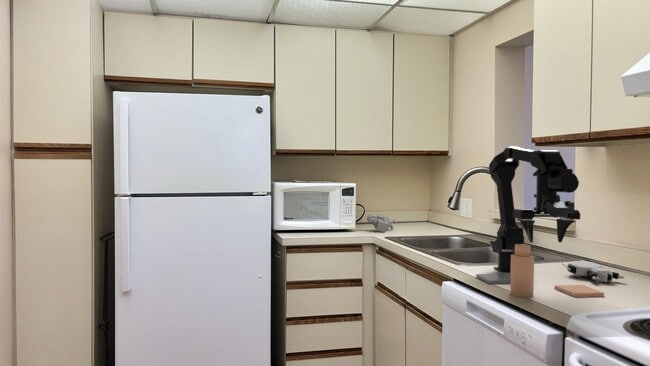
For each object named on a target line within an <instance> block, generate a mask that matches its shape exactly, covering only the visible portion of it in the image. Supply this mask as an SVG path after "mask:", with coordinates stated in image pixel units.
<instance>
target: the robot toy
mask: <svg viewBox="0 0 650 366" xmlns="http://www.w3.org/2000/svg"><path fill="white" fill-rule="evenodd" d="M561 265H562V266H564V267H565V269H566V270H567V272H568V273H570V274H572V275H573V276H574V277H576V278H581V277H589V278H590V279H591V280H592V281H595V282H597V283H607V282H613V279H615V280H618V279H620V280H621V279H625V275H621V274H620V273H618V272H614V271H610V269H607V268H604V267H603V265H601V264H597V263H596V262H591V261H572V262H569V263H567V265H565V264H564V263H563V262H562V263H561Z"/></svg>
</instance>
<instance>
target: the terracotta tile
mask: <svg viewBox="0 0 650 366" xmlns="http://www.w3.org/2000/svg"><path fill="white" fill-rule="evenodd" d="M554 289H555V290H557V291H559V292H561V291H562V292H561V293H563V294H567V295H568V294H569V295H568V296H571V297H574V298H584V297H585V298H586V297H587V298H589V297H605V292H604V291H600V290H599V289H595V288H592V287H591V286H590V287H589V286H587V285H585V284H561V285H560V284H557V285H556V284H555V285H554Z"/></svg>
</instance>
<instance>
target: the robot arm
mask: <svg viewBox="0 0 650 366" xmlns="http://www.w3.org/2000/svg"><path fill="white" fill-rule="evenodd" d="M520 161H522V162H526V163H529V164H530V166H531V167H533V168H535V169H536V170H535V171H534V172H533V174H532V176H533V177H536V188H535V189H536V192H535V193H534V195H533V197H534V198H536V199H535V202H536V203H535V206H534V207H533V209H528V208H515V204H514V195H513V194H514V193H513V186H512V182H513V180H514V179H515V177H516V170H517V168H519V166H520ZM488 170H489V174H490V177H491V179H492V181H493V182H494V183H495V185H496V192H497V200H498V209H499V219H500V226H499V227H498V230H497V232H496V239H495V240H494V241H493V244H492V245H491V249H492V252H493V253H495V254H497V266H493V269H495V270H497V271H500V272H501V273H508V272H509V273H511V255H512V254H515V244H525V237H524V232H525V235H526V237H527V238H528V241H529V243H533V242H534V224H535V222H536V220H535V219H534V218H556V229H557V230H556V231H557V232H556V233H557V234H556V235H557V241H558V243H562V242H563V239H564V237H565V235H566V232H567V230H568V228H569V227H570V226H571V225H572V224H573V223H577V220H581V212H580V211H579V210H578V209H575V202H574V201H572V200H565V201H561V196H560V195H559V194H558V193H567V194H570V193H573V192H576V190H577V189H578V187H579V185H580V181H579V178H578V177H577V175H576V174H575V173H574V172H573V168H568V165H567V164H566V162H565V161H564V158H563V157H562V155H561V152H560V151H559V150H551V149H549V150H548V149H544V150H543V149H540V150H539V149H537V150H533V149H527V148H522V147H519V146H508V147H505V148H504V149H503V151H502V152H499V153H498V154H497V155H495V156H494V157H493V158H492V160H491V161H490V163H489V165H488ZM533 219H534V220H533ZM517 221H518V222H519V223H520V225H521V226H522V227H519V225H518V224H517Z"/></svg>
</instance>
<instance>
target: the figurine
mask: <svg viewBox="0 0 650 366" xmlns="http://www.w3.org/2000/svg"><path fill="white" fill-rule="evenodd" d="M366 221H367V224H371V225H372V226H373V228H374V229H375V231H378V232H381V233H386V232H387V231H388V230H389V229H390V230H394V226H393V224H395V225H396V224H397V223H398V221H397V220H396V219H391V218H390V217H389V216H381V215H379V214H378V215H374V214H368V215H367V216H366Z"/></svg>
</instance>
